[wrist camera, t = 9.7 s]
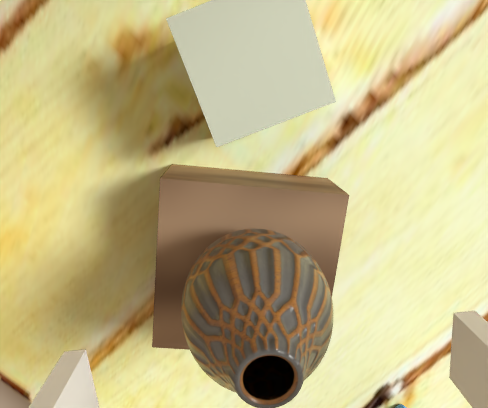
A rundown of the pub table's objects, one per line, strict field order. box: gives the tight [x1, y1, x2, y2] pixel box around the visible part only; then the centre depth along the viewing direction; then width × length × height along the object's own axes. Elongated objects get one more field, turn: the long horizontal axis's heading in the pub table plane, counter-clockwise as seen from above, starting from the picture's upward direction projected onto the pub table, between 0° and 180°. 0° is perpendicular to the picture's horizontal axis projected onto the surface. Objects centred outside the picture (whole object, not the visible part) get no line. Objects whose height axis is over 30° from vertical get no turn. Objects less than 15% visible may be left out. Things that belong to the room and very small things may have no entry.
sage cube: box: [166, 0, 336, 147], centre depth 21 cm, size 6×6×6 cm
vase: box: [181, 229, 333, 408], centre depth 18 cm, size 7×7×9 cm
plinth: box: [152, 164, 349, 349], centre depth 24 cm, size 10×10×5 cm
